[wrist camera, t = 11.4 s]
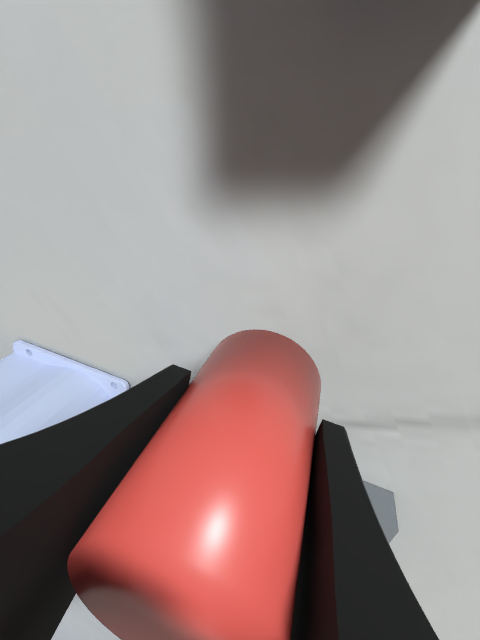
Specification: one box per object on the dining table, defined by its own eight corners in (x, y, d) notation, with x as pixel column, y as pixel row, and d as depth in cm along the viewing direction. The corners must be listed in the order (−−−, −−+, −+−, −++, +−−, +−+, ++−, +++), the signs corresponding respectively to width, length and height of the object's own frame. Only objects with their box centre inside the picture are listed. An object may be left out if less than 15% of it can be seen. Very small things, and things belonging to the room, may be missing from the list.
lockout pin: (200, 403, 13) (71, 616, 7) (219, 313, 11) (61, 500, 5) (300, 441, 12) (254, 713, 6) (338, 353, 10) (323, 621, 4)
